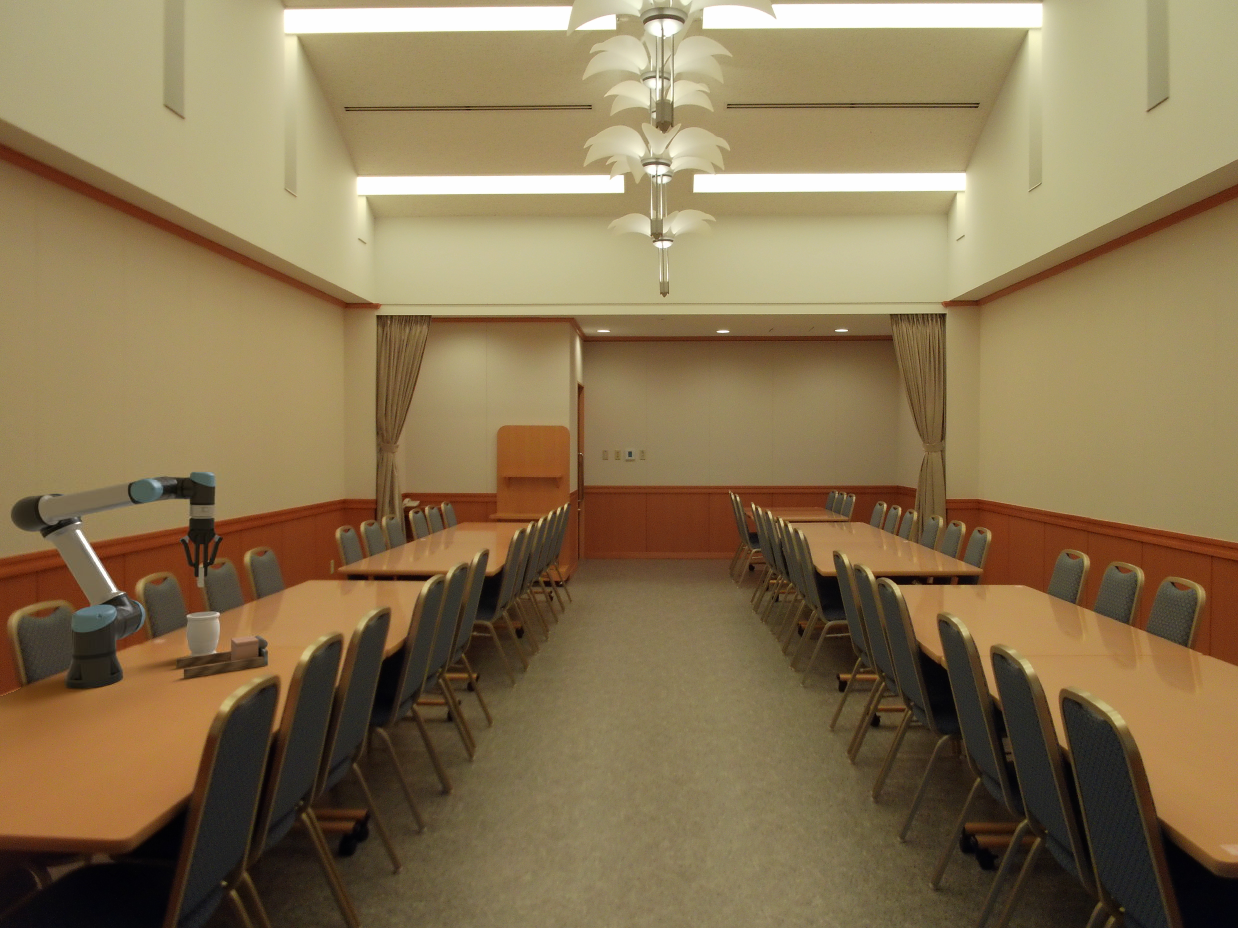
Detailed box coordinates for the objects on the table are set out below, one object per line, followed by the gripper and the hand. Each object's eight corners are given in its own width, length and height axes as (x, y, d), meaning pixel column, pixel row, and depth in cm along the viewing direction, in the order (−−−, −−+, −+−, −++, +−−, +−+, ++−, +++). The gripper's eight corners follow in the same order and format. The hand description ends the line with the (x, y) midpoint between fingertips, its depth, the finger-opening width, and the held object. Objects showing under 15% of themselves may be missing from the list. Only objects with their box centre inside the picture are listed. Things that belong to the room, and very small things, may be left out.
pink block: (236, 666, 253) (236, 643, 253) (230, 661, 260) (230, 638, 260) (259, 662, 258) (259, 640, 258) (253, 657, 264) (253, 635, 264)
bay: (184, 678, 241) (184, 654, 241) (176, 667, 253) (176, 644, 253) (270, 664, 257) (270, 641, 257) (259, 654, 269) (259, 632, 269)
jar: (226, 652, 273) (226, 611, 272) (207, 659, 262) (207, 617, 262) (199, 651, 274) (198, 610, 273) (179, 658, 263) (179, 616, 263)
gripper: (181, 518, 245) (180, 589, 245) (225, 517, 253) (224, 586, 253) (178, 516, 251) (176, 586, 251) (221, 515, 259) (219, 583, 259)
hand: (200, 586), depth 252 cm, fingers closed
